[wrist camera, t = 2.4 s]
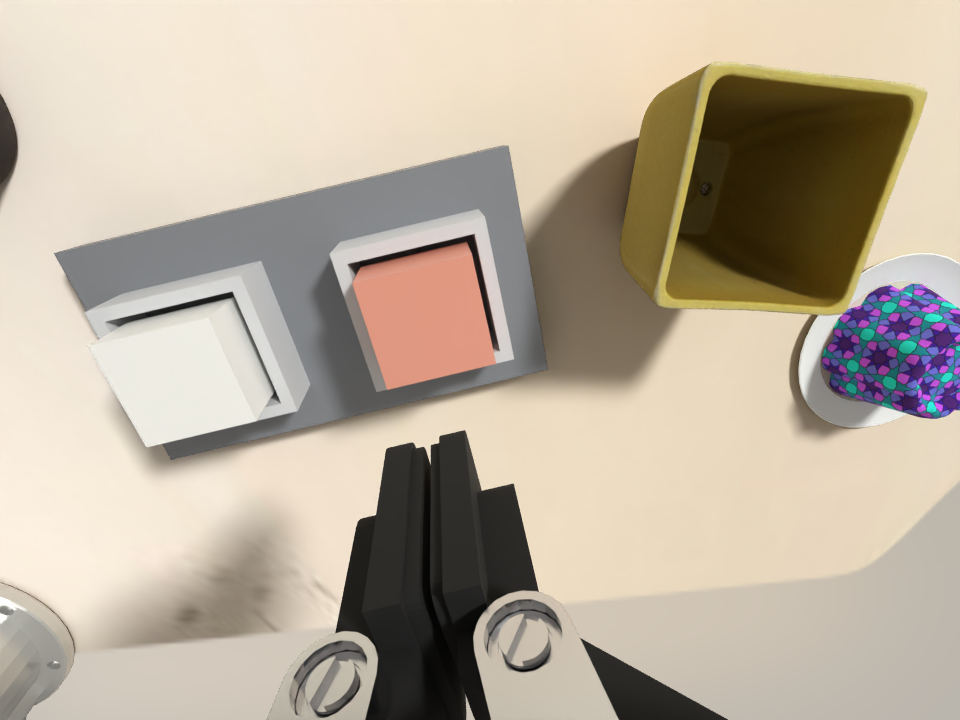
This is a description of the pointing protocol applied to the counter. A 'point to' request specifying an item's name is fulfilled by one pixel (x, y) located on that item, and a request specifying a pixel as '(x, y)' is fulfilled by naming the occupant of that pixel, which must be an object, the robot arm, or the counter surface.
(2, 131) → the container
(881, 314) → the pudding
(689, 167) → the flower pot
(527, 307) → the push button panel
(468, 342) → the brick key
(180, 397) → the white key
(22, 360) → the counter surface
